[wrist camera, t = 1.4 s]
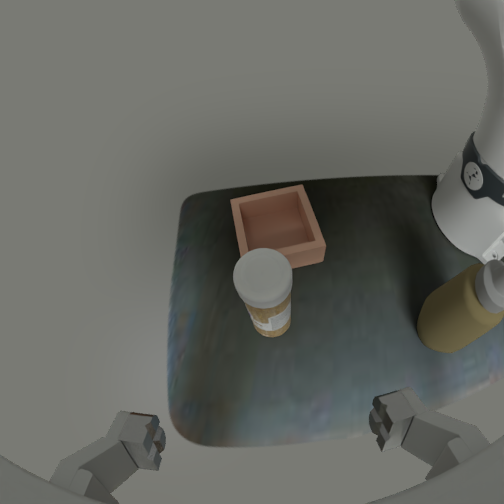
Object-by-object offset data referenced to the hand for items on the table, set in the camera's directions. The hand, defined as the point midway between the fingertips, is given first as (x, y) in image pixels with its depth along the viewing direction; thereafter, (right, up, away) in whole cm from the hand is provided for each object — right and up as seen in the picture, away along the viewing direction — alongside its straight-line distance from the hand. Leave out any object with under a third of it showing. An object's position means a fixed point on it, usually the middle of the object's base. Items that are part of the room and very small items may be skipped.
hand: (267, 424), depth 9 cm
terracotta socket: (+3, +8, +29) cm, 31 cm away
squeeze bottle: (+23, -3, +20) cm, 31 cm away
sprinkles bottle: (+2, -2, +24) cm, 24 cm away
